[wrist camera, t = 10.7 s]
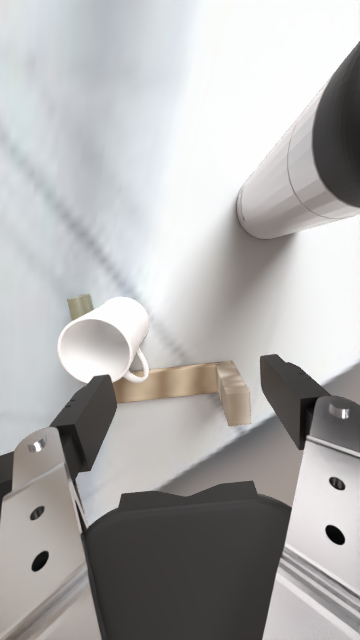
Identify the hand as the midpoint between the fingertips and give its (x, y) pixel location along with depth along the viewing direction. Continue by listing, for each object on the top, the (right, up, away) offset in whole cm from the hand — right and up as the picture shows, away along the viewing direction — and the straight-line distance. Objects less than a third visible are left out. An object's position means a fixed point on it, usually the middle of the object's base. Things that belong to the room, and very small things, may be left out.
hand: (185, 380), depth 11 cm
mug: (-9, +1, +23) cm, 25 cm away
